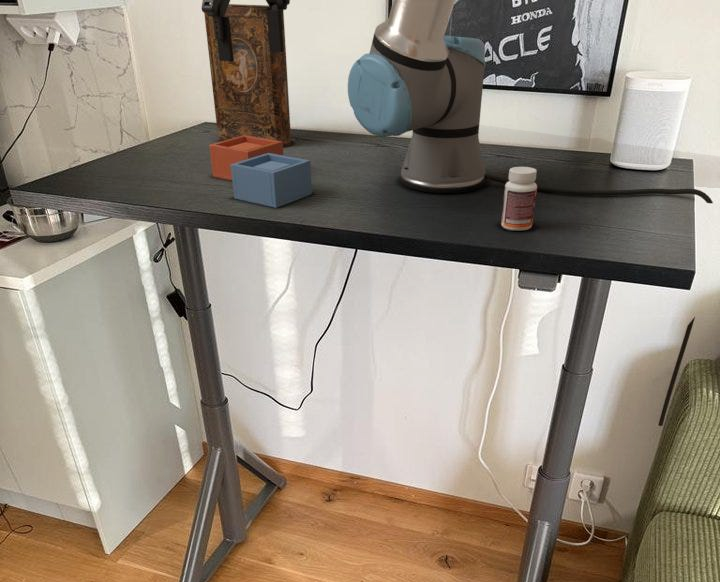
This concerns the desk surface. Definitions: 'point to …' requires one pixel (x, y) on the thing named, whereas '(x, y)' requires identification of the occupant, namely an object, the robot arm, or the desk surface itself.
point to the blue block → (272, 166)
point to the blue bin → (271, 180)
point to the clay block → (246, 146)
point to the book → (250, 78)
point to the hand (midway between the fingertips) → (252, 56)
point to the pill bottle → (519, 199)
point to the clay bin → (239, 153)
